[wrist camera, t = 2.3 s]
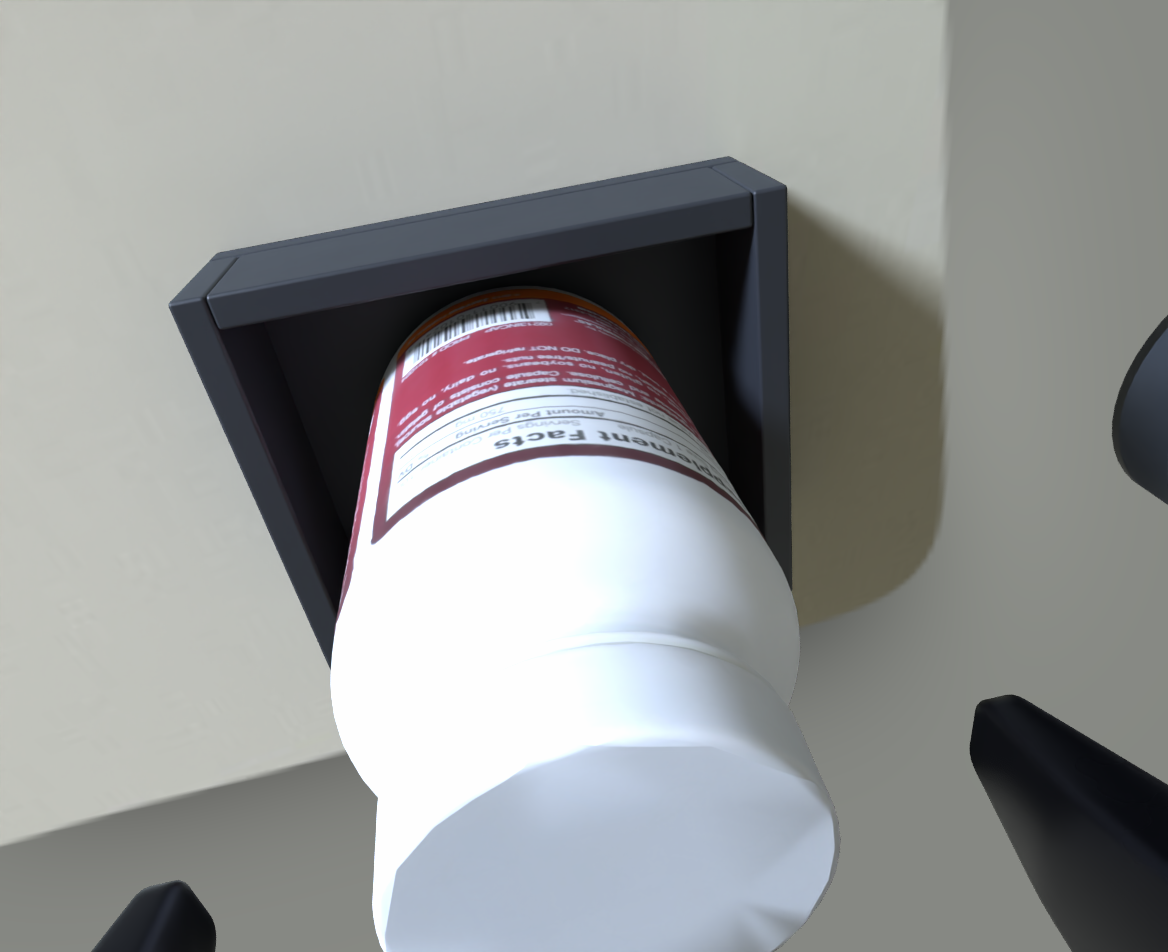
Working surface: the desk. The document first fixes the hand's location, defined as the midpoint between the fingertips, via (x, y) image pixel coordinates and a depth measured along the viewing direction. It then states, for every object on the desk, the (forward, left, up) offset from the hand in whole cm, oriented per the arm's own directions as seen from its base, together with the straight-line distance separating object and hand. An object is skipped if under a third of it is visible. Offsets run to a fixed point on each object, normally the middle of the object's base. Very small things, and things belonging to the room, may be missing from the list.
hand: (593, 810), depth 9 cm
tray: (0, 0, -10) cm, 10 cm away
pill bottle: (0, 0, -10) cm, 10 cm away
